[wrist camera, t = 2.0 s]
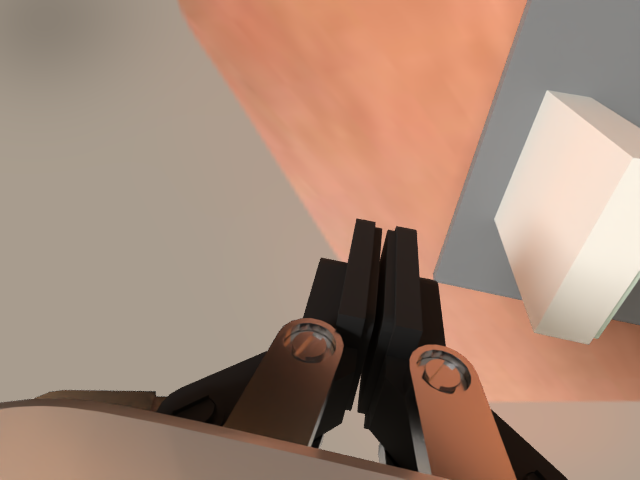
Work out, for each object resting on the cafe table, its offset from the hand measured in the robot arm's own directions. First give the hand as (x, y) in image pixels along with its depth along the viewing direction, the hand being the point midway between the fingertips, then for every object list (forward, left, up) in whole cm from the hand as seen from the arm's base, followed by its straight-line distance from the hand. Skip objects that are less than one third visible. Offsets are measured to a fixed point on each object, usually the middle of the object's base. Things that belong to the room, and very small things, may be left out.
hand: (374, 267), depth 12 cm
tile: (-8, 0, -12) cm, 14 cm away
